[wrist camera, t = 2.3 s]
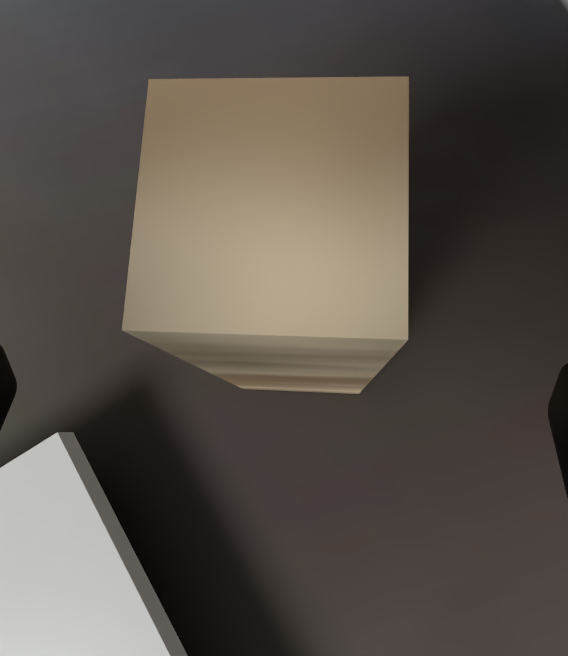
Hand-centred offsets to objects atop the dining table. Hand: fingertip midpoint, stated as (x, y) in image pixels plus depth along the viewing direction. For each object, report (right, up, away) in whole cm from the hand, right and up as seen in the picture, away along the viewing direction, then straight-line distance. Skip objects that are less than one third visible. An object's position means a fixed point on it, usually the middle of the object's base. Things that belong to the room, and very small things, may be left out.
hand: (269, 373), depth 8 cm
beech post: (+1, 0, +10) cm, 10 cm away
